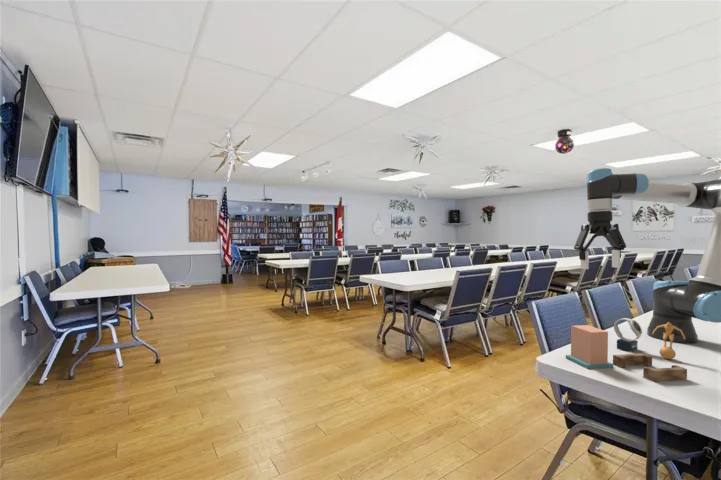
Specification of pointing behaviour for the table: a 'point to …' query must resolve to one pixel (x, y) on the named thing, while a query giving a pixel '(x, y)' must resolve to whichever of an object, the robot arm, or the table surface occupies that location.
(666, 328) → the figurine
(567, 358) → the teal pad
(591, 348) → the terracotta block
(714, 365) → the table surface
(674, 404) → the table surface
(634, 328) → the watch
